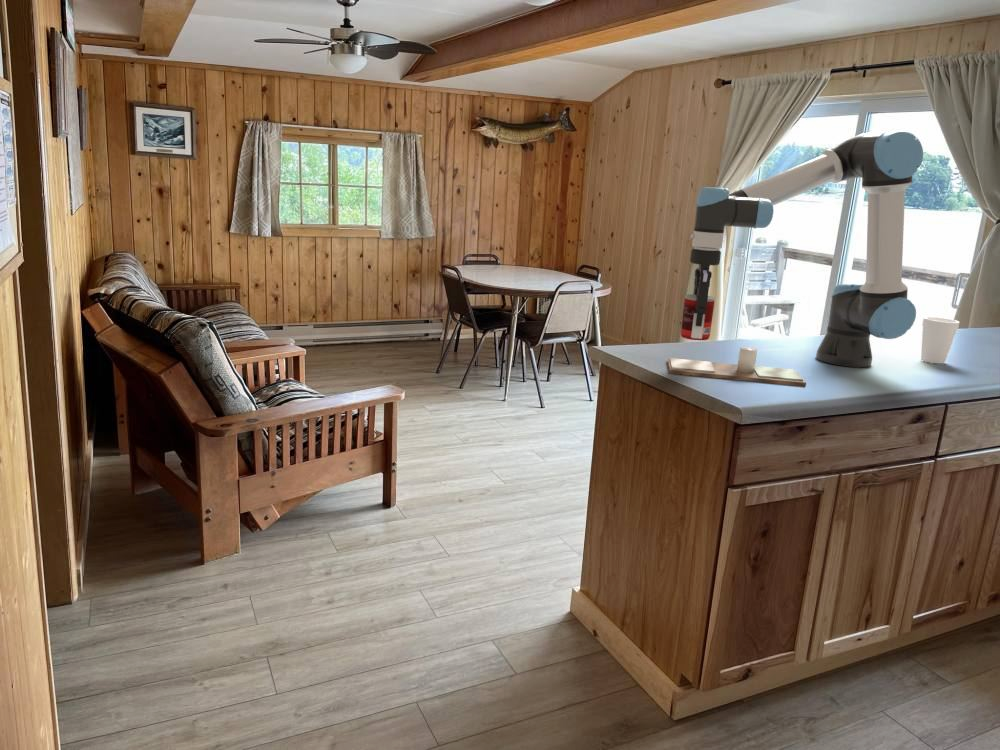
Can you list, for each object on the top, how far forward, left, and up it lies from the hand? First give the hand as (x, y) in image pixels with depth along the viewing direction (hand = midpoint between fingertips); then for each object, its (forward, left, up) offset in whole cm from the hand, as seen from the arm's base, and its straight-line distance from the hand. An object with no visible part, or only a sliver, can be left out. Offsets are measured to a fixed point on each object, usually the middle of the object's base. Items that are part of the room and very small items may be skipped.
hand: (695, 334), depth 198 cm
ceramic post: (-14, 0, -10) cm, 17 cm away
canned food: (0, 0, -1) cm, 1 cm away
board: (-11, 0, -10) cm, 15 cm away
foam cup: (-75, -41, -10) cm, 86 cm away
